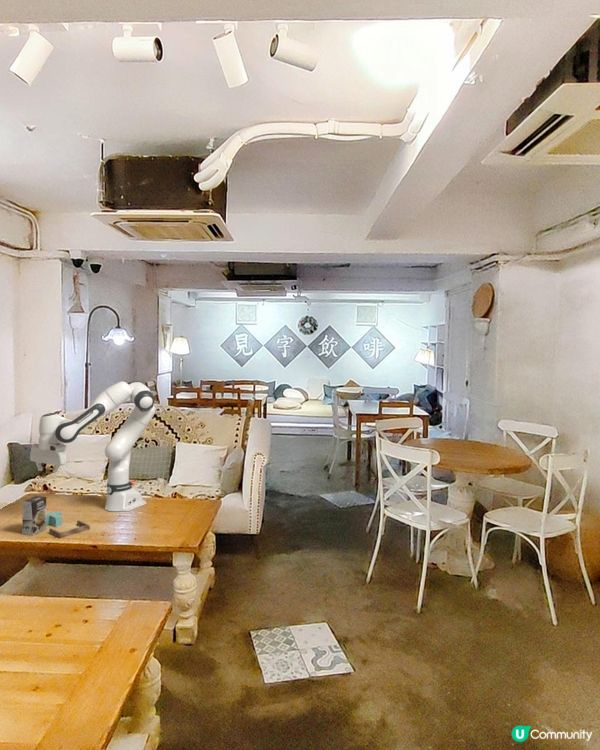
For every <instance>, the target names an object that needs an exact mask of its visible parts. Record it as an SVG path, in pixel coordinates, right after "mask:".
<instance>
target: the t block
mask: <svg viewBox="0 0 600 750" xmlns="http://www.w3.org/2000/svg"><path fill="white" fill-rule="evenodd" d="M62 523H63V516H62V511H59V510H56V511H53V512H50V513H49V512H48V513H46V526H47V525H51V526H53V527H54V528H57V527H61V526H62V525H63V524H62Z"/></svg>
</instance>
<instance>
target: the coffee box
mask: <svg viewBox="0 0 600 750" xmlns="http://www.w3.org/2000/svg"><path fill="white" fill-rule="evenodd" d="M21 510H22V517H21V518H22V528H21V530H22V531H21V533H22V535H27V536H35V535H37V534H39V533H41V532H43V531H45V530H47V525H46V514H47V496H40V495H39V496H38V495H35V496H32V497H30V498H27V499H25V500H22V509H21Z"/></svg>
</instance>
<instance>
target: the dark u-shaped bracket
mask: <svg viewBox="0 0 600 750" xmlns="http://www.w3.org/2000/svg"><path fill="white" fill-rule="evenodd" d="M76 524H77V526H78V527H75V528H70V529H69V530H65V531H62V532H60V531H58V530H56V529H53V528H49V529H48V531H49V534H51V535H52V536H54V537H56V538H58V539H62V538H65V537H70V536H72V535H76V534H78V533H79V534H80V533H81V532H85V531H88V530H91V525H90V524H88V523H85V522H83V521H81V520H77V521H76Z"/></svg>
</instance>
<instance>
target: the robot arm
mask: <svg viewBox="0 0 600 750" xmlns="http://www.w3.org/2000/svg"><path fill="white" fill-rule="evenodd" d="M129 401H131V402H132V403H133V404H134V406H135V407H134V409H133V410H132V411H131V413H130V414H129V416H128V417H127V419H126V420H124V423H123V424H122V425H121V427H120V428H119V429H118V430H117V432H116V433H115V434H114V435H113V437H112V438H111V439H110V440H109V442H108V443H107V444H106V447H105V449H104V454H105V457H106V458H107V459H108V461H109V462H108V467H107V483H106V493H107V494H106V502H105V506H104V510H105V511H109V512H129V511H132V510H135V509H137V508H140V507H142V506H145V505H147V501H146V500H144V499H143V497H142V496H143V494H141V492H140V491H138V489H136V488H134V486H135V485H136V481H130V463H131V453H132V447H133V446H134V444H135V443H136V442H137V440H138V439H139V438H140V437H141V435H142V433H143V432H144V431H145V430H146V428H147V427H148V425H149V424H150V423H151V421H152V419H153V417H154V415H155V413H156V409H157V408H156V406H155V396H154V393H153V392H152V391H151V389H150V388H149V387H148V386H146V384H145V383H144V382H142V381H140V380H133V381H129V382H126V381H123V380H122V381H119V382H116V383H114V384H113V385H111V386H109V387H107V388H106V389H105V390H103V391H101V393H99V394H98V395H97V396H96V397H95V398H94V399H93V401H92V403H91V405H90V406H89V407H88V409H86V410H85V411H84V412H82V413H81V414H79V415H78V416H77V417H76V418H74V419H70V418H67V417H63V416H62V415H60V414H58V413H56V412H49V413H45V414H43V415H41V417H40V419H39V426H38V433H39V438H38V443H36V442H34V443H33V444H32V445H31V450H30V454H29V455H30V456H29V460H30V462H35V465H36V467H37V471H38V472H43V471H44V469H43V466H42V464H46V465H53V466H54V469H53V470H52V474H58V471H59V469H60V467H62V466H64V465H65V466H66V464H67V458H68V457H67V456H68V455H67V451H66V450H67V445H66V444H69V443H72V442H74V441H75V440H76V439H77V437H78V436H79V434H80V433H81V432H82V430H84V429H85V428H86V427H88V426H90V424H92V423H93V422H94V421H96V420H97V419H99V418H101V417H103V416H105V415H107V414H109V413H110V412H113V411H114V410H115V409H117V408H118V407H120V406H122V404H123V403H126V402H129Z"/></svg>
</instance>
